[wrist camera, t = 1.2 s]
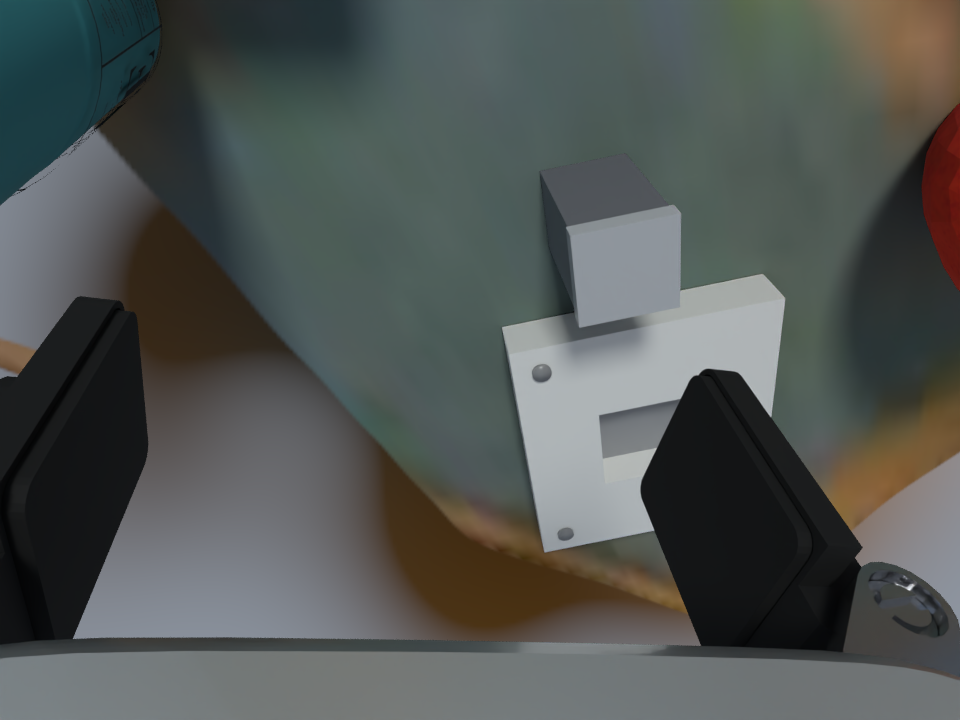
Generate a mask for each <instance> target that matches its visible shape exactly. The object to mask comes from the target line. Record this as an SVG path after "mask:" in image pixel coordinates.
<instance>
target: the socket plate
mask: <svg viewBox="0 0 960 720" xmlns="http://www.w3.org/2000/svg"><path fill="white" fill-rule="evenodd" d="M784 305H785V297H784V296H783V295H782V294H781V293H780V292H779V291H778V290H777V289H776V287H775V286H774V285H773V284H772V283H771V282H770V281H769V280H768V279H767V278H766V277H765V276H764V275H763V274H760V275H755V276H750V277H745V278H740V279H735V280H730V281H725V282H721V283H716V284H711V285H706V286H701V287H696V288H691V289H686V290H681V291H680V307H679V308H674V309H669V310H664V311H659V312H654V313H649V314H645V315H640V316H635V317H630V318H625V319H620V320H615V321H610V322H605V323H600V324H596V325H591V326H586V327H581V328H579V326H578V323H577V321H576V318H575V312H574V313H569V314H564V315H559V316H554V317H549V318H545V319H540V320H535V321H530V322H525V323H520V324H515V325H510V326H505V327H502V331H503V336H504V342H505V347H506V353H507V358H508V364H509V369H510V374H511V380H512V385H513V391H514V396H515V402H516V407H517V413H518V418H519V423H520V429H521V434H522V440H523V445H524V451H525V456H526V462H527V467H528V472H529V478H530V483H531V489H532V494H533V500H534V505H535V510H536V516H537V521H538V526H539V530H540V535H541V539H542V544H543V548H544V552H549V551H554V550H559V549H564V548H569V547H574V546H579V545H584V544H589V543H594V542H599V541H604V540H609V539H614V538H619V537H624V536H629V535H634V534H639V533H644V532H649V531H654V528H653V526H652V523H651V521H650V518H649V516H648V513H647V511H646V508H645V506H644V503H643V501H642V498H641V493H640V486H641V481H642V478H643V476H644V474H645V472H646V470H647V468H648V466H649V463H650V461H651V459H652V457H653V455H654V453H655V451H656V449H657V447H658V445H659V443H660V441H661V439H662V436H663V434H664V432H665V430H666V428H667V426H668V424H669V422H670V420H671V418H672V416H673V414H674V412H675V410H676V407H677V405H678V403H679V401H680V399H681V397H682V395H683V393H684V391H685V389H686V387H687V385H688V383H689V381H690V379H691V378H692V377H693V376H695V375H699V374H700V372H702V371H703V370H704V369H708V368H709V369H717V370H726V371H734V372H738V373H739V374H740V375H741V376H742V377H743V379H744V380H745V382H746V383H747V384H748V386H749V387H750V389H751V390H752V391H753V393H754V394H755V396H756V397H757V399H758V400H759V401H760V403H761V404H762V406H763V407H764V408H765V410H766V411H767V413H768V414H769V416H770V417H771V414H772V406H773V397H774V389H775V381H776V372H777V364H778V355H779V347H780V339H781V330H782V322H783V314H784Z"/></svg>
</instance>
